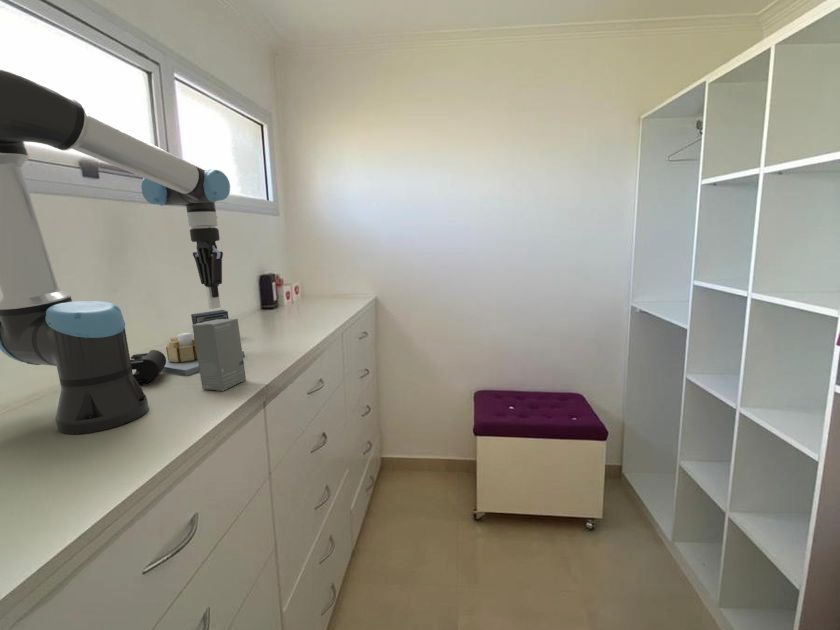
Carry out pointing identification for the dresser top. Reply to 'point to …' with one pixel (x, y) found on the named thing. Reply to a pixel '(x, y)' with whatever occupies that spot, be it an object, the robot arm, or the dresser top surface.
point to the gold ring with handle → (181, 351)
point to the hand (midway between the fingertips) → (214, 308)
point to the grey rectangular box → (219, 353)
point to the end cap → (147, 366)
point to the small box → (209, 316)
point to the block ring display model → (186, 366)
